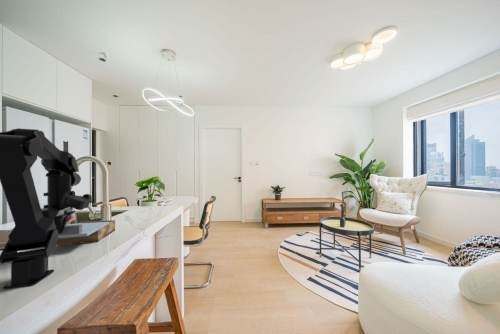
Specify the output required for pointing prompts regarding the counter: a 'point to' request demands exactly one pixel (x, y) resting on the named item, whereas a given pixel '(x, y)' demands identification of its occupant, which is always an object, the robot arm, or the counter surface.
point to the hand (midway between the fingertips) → (59, 233)
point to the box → (92, 237)
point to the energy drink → (71, 218)
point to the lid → (81, 229)
